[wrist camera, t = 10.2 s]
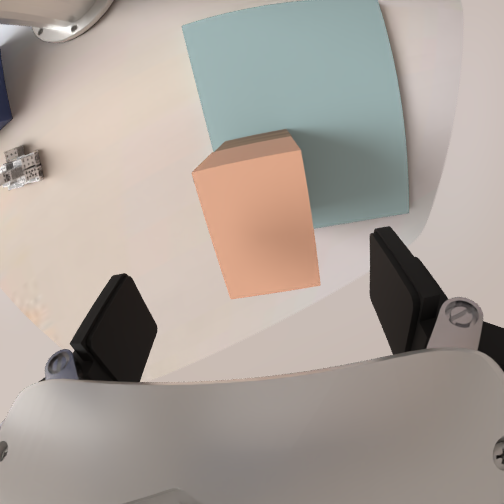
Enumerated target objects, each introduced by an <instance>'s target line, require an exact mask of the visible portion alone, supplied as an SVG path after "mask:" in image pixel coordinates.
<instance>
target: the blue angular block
mask: <svg viewBox="0 0 504 504" xmlns="http://www.w3.org/2000/svg"><path fill="white" fill-rule="evenodd" d="M12 119H13V118H12V114H11V110H10V106H9V101H8V96H7V91H6V86H5V80H4V74H3V67H2V60H1V51H0V130H1V129H2V128H3V127H4V126H5V125H6V124H7V123H8V122H9V121H11V120H12Z"/></svg>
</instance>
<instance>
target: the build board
mask: <svg viewBox="0 0 504 504" xmlns="http://www.w3.org/2000/svg"><path fill="white" fill-rule="evenodd" d="M182 30H183V34H184V38H185V42H186V46H187V50H188V54H189V58H190V62H191V66H192V70H193V74H194V78H195V82H196V86H197V90H198V94H199V98H200V101H201V105H202V109H203V113H204V117H205V121H206V125H207V129H208V132H209V136H210V140H211V144H212V148H213V152H214V151H215V150H216V149H218V148H219V147H220V146H221V145H222V144H223V143H224V142H225V141H228V140H233V139H237V138H242V137H246V136H251V135H256V134H261V133H266V132H271V131H277V130H282V129H287V130H288V132H289V133H290V134H291V136H292V138H293V140H294V141H295V142H296V144H297V145H298V147H299V148H300V149H301V154H302V159H303V165H304V170H305V176H306V182H307V188H308V195H309V201H310V208H311V214H312V221H313V228H314V229H315V228H321V227H327V226H333V225H339V224H345V223H351V222H357V221H363V220H369V219H375V218H381V217H388V216H394V215H400V214H406V213H409V185H408V163H407V149H406V138H405V128H404V119H403V112H402V104H401V98H400V91H399V85H398V80H397V74H396V69H395V64H394V60H393V55H392V51H391V46H390V42H389V38H388V34H387V31H386V27H385V23H384V20H383V16H382V13H381V10H380V6H379V3H378V0H306V1H295V2H286V3H278V4H271V5H265V6H259V7H253V8H248V9H243V10H238V11H234V12H229V13H225V14H221V15H217V16H213V17H210V18H206V19H202V20H199V21H196V22H192V23H189V24H186V25H183V26H182Z"/></svg>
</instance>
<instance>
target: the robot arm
mask: <svg viewBox="0 0 504 504" xmlns="http://www.w3.org/2000/svg"><path fill="white" fill-rule="evenodd" d="M113 1H114V0H0V24H7V25H19V26H29V27H32V30H33V32H34V34H35V35H36V36H37V37H38V38H39V39H40V40H42V41H45V42H50V43H60V42H65V41H68V40H71V39H73V38H75V37H77V36H79V35H81V34H82V33H84V32H85V31H86V30H88V29H89V28H90V27H91V26H93V25H94V24H95V23H96V22H97V21H98V20H99V19H100V18H101V17H102V16H103V14H104V13H105V12H106V11H107V10H108V8H109V7H110V5H111V4H112V3H113ZM370 298H371V301H372V304H373V306H374V308H375V311H376V313H377V316H378V318H379V320H380V323H381V325H382V328H383V330H384V333H385V335H386V338H387V340H388V343H389V345H390V348H391V350H392V353H393V355H390V356H385V357H380V358H376V359H371V360H366V361H362V362H356V363H351V364H346V365H340V366H335V367H329V368H323V369H317V370H311V371H304V372H297V373H290V374H282V375H275V376H266V377H255V378H245V379H233V380H219V381H201V382H140V379H141V376H142V373H143V371H144V368H145V365H146V362H147V359H148V356H149V353H150V350H151V348H152V345H153V342H154V339H155V337H156V334H157V325H156V323H155V321H154V319H153V317H152V315H151V314H150V312H149V310H148V308H147V306H146V304H145V302H144V300H143V299H142V297H141V295H140V293H139V291H138V289H137V287H136V285H135V283H134V281H133V279H132V278H131V277H130V276H128V275H127V274H125V273H124V274H119V275H113V276H112V277H111V279H110V280H109V282H108V283H107V285H106V286H105V288H104V289H103V291H102V292H101V294H100V295H99V297H98V298H97V300H96V301H95V303H94V304H93V306H92V308H91V309H90V311H89V312H88V314H87V316H86V317H85V319H84V320H83V322H82V324H81V325H80V327H79V329H78V330H77V332H76V334H75V335H74V337H73V339H72V341H71V342H70V345H71V346H72V347H73V349H74V350H75V351H74V352H73V353H72V352H71V351H70V350H68V349H63V350H60V351H58V352H56V353H55V354H53V355H52V356H51V358H50V359H49V360H48V362H47V363H46V366H45V378H43V379H42V380H41V381H39V382H38V383H34V384H32V385H30V386H28V387H26V388H24V389H23V390H22V391H21V392H20V394H19V395H18V397H17V398H16V400H15V401H14V403H13V405H12V407H11V409H10V410H9V412H8V414H7V416H6V418H5V419H4V421H3V422H2V423H1V424H0V504H504V328H501V327H498V326H495V325H493V324H490V323H487V322H484V321H483V312H482V310H481V308H480V307H479V306H478V304H476V303H475V302H474V301H472V300H470V299H467V298H462V297H455V298H451V299H448V298H447V296H446V295H445V294H444V292H443V291H442V290H441V288H440V287H439V285H438V284H437V282H436V281H435V280H434V278H433V277H432V276H431V274H430V273H429V271H428V270H427V269H426V267H425V266H424V265H423V263H422V262H421V261H420V260H419V259H418V258H417V257H414V256H413V255H412V254H411V252H410V251H409V250H408V248H407V247H406V246H405V244H404V243H403V242H402V241H401V239H400V238H399V237H398V236H397V234H396V233H395V232H394V231H393V230H392V228H391V227H390V226H388V227H383V228H377V229H375V230H374V233H371V234H370Z"/></svg>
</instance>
